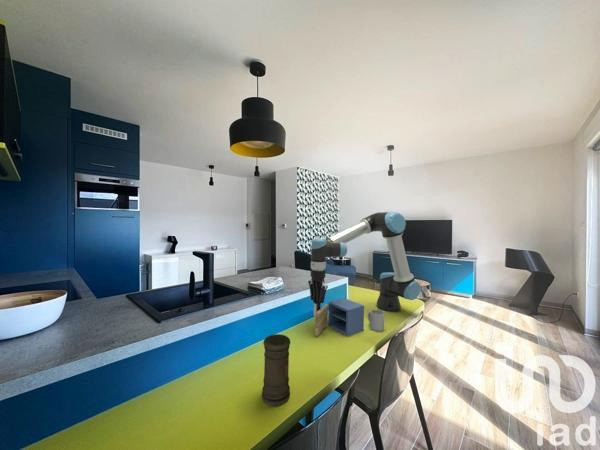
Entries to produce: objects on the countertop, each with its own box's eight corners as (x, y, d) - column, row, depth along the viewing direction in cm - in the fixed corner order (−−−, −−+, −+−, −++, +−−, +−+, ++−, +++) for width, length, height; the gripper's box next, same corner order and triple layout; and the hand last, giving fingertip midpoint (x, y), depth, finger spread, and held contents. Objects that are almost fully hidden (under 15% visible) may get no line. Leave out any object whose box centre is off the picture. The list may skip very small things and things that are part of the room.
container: (266, 410, 71) (267, 349, 71) (258, 390, 79) (259, 336, 79) (294, 401, 75) (295, 344, 74) (284, 383, 83) (285, 331, 83)
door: (327, 324, 129) (328, 303, 129) (317, 335, 116) (318, 313, 116) (325, 323, 130) (326, 303, 129) (315, 335, 116) (315, 312, 116)
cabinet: (343, 321, 136) (344, 298, 136) (363, 330, 125) (364, 305, 125) (328, 326, 129) (328, 301, 129) (347, 336, 118) (348, 310, 118)
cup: (376, 332, 123) (377, 315, 123) (363, 325, 132) (363, 308, 131) (387, 330, 126) (387, 313, 126) (373, 322, 135) (373, 306, 135)
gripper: (304, 267, 125) (303, 312, 126) (320, 272, 115) (319, 321, 115) (315, 266, 130) (314, 309, 130) (332, 271, 119) (330, 318, 120)
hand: (316, 315), depth 123 cm, fingers closed
